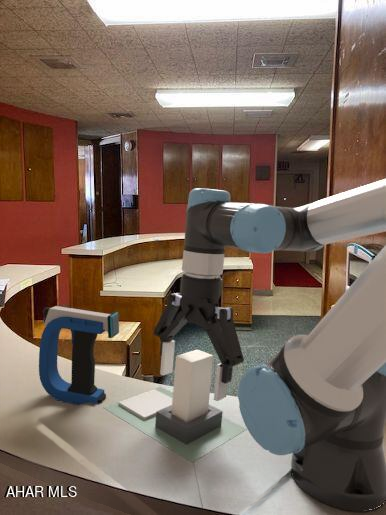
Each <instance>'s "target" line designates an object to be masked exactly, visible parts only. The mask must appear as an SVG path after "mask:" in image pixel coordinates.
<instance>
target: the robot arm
mask: <svg viewBox="0 0 386 515" xmlns="http://www.w3.org/2000/svg"><path fill="white" fill-rule="evenodd" d="M185 213H186V215H185V228H184V229H185V230H184V239H183V240H184V243H183V253H182V263H181V264H182V266H181V271H182V272H183V274H181V275H180V276H181V277H180V286H179V292H176V293H175V292H173V293H169V294H168V298H167V303H166V306H165V308H164V310H163V312H162V313H161V315H160V318H159V320H158V321H157V324H156V326H155V328H154V330H153V335H154V336H156V337H158V338H159V341H160V349H159V350H160V351H159V355H160V357H161V358H160V360H161V362H160V371H159V374H160V375H161V376H166V375H168V374H171V373H173V369H174V356H175V345H176V340H174V338H175V336H176V335H177V334H178V333H179V331H181V329H183V327H184V326H186V324H187V323H188V324H191V325H192V324H194V325H196V326H197V327H199V328H200V327H202V329H203V331H204V332H206V334H207V336H208V338H209V340H210V342H211V344H212V346H213V348H214V350H215V353H216V355H217V357H218V359H219V362H220V363H218V364H216V374H215V383H214V392H213V393H214V394H213V401H215V402H218V401H221V400H223V399H225V398H227V394H228V384H229V383H231V381H232V379H233V369H234V366H237V365H240V364H243V363H244V362H245V361H244V360H245V358H244V355H243V354H244V353H243V351H242V348H241V344H240V341H239V338H238V337H239V336H238V333H237V330H236V326H235V325H236V324H235V323H234V309H233V307H232V306H228V307H220V306H219V300H220V297H221V296H222V295H221V294H222V286H223V278H222V277H221V276H222V275H223V271H224V265H225V264H224V263H225V254H226V247H228V248H233V249H236V250H240V251H241V250H242V251H245V252H247V253H252V254H253V253H256V254H257V253H258V254H270V253H272V252H273V251H293V252H295V251H297V252H300V253H301V252H302V253H304V252H311V251H319V250H320V249H323V247H325V245H329V244H333V243H334V244H335V243H338V242H342V241H343V242H344V241H348V240H353V239H357V238H362V237H367V236H371V235H376V234H380V233H385V232H386V178H384V179H380V180H378V181H375V182H372V183H368V184H365V185H362V186H359V187H356V188H353V189H350V190H347V191H344V192H341V193H337V194H335V195H331V196H328V197H325V198H322V199H320V200H317V201H314V202H310V203H308V204H305V205H301V206H298V207H289V206H288V207H286V206H276V205H270V204H266V203H258V202H251V203H248V202H231V194H230V192H229V191H227V190H222V189H212V188H211V189H210V188H197V187H196V188H193V189H192V190H190V192H189V194H188V200H187V208H186V210H185ZM180 307H181V308H180ZM179 308H180V309H181V310H180V311H179V312H178V310H179ZM177 312H178V313H177ZM174 318H175V319H174ZM237 388H238V389H237V391H238V392H237V398H238V402H239V403H238V404H239V406H238V408H239V411H240V415H241V418H242V420H243V423H244V425H245V428H246V429H247V431H248V433H249V434H250V436H251V437H252V438H253V440H254V441H255V442H256V444H258V445H259V446H260V447H261V449H263V450H264V451H268V452H269V453H270V454H273V455H275V456H285V455H286V456H287V455H289V454H291V455H292V456H291V460H290V461H291V462H290V466H291V468H290V473H291V476H292V478H293V480H294V481H295V482H296V484H297V485H298V486H299V488H301V489H302V490H303V491H304V492H305V493H306V494H308V495H310V496H311V497H312V498H314V499H315V500H317V501H319V502H321V503H323V504H325V505H328V506H331V507H333V508H337V509H341V510H344V511H349V512H350V511H351V512H360V511H361V512H365V511H364V510H369V509H374V508H376V507H378V506H380V505H382V504H383V503H384V502H385V500H386V457H385V453H384V448H383V443H384V435H385V430H386V244H385V245H384V246H383V248H381V250H380V251H379V252H378V253H377V255H376V256H375V257H374V258H373V259H372V260H371V261H370V262H369V263H368V265H367V266H366V267H365V269H364V270H363V271H362V272H361V273H360V274H359V275H358V277H356V279H355V280H354V281H353V282H352V284H351V285H350V286H348V288H347V289H346V290H345V291H344V293H343V294H342V295H341V296H340V297H339V299H338V300H337V301H336V302H335V303H334V304H333V306H332V307H331V308H330V309H329V310H328V311H327V313H325V315H324V316H323V317H322V318H321V320H320V321H319V322H318V323H317V324H316V325H315V326H314V328H313V329H312V330H311V331H310V332H309V333H308V334H297V335H294V336H292V337H291V338H289V339H288V340H287V341H286V342H285V344H284V345H283V346H282V347H281V349H279V351H278V352H277V353H276V355H274V357H273V358H272V359H271V360H270V361H268V362H267V363H264V364H263V363H257V364H254V366H251V367H250V368H248V369H246V371H245V372H243V374H242V376H241V378H240V380H239V383H238V387H237ZM385 503H386V502H385ZM382 506H383V505H382Z"/></svg>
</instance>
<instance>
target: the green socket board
mask: <svg viewBox="0 0 386 515" xmlns="http://www.w3.org/2000/svg"><path fill="white" fill-rule="evenodd" d="M172 400H173V391H170V390H169V389H166V388H164V387H162V386H158V387H156V388H153V389H150V390H148V391H145V392H142V393H139V394H136V395H134V396H131V397H128V398H125V399H123V400H120V401H118V402H117V401H116V402H115V403H112V404H109V405H107V406H104V407H103V409H105V410H106V411H107V412H110V413H111V414H113V415H115V416H116V417H117V418H119V419H121V420H123V421H124V422H126V423H127V424H129V425H131V426H132V427H134V428H136V429H137V430H138V431H140V432H142V433H143V434H145V435H147V436H149V437H150V438H152V439H153V440H155V441H157V442H158V443H160V444H162V445H163V446H165V447H166V448H168V449H170V450H171V451H173V452H174V453H176V454H177V455H179V456H181V457H182V458H184V459H186V460H187V461H189V462H190V463H194V462H196V461H197V460H199V459H201V458H202V457H204V456H205V455H207V454H208V453H210V452H212V451H214V450H215V449H217V448H218V447H220V446H222V445H224V444H225V443H226V442H228V441H230V440H232V439H234V438H235V437H237V436H238V435H240V434H242V433H244V432H245V431H248V429H247V427H244V426H241V425H240V424H238V423H236V422H233V421H232V420H230V419H227V418H226V417H224V416H223V414H224V412H223V410H221V409H220V408H217V407H215V406H213V405H212V404H211V405H210V404H209V406H208V413H206V414H204V415H202V416H200V417H198V418H196V419H194V420H192V421H190V422H188V423H187V422H185V421H183V420H182V419H180V418H178V417H176V416H174V415H172V414H171V412H172Z"/></svg>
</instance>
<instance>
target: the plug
mask: <svg viewBox="0 0 386 515" xmlns="http://www.w3.org/2000/svg"><path fill="white" fill-rule="evenodd" d="M213 360H214V355H213V354H211V353H208V352H205V351H202V350H200V349H194V350H191V351H187V352H184V353H180V354H178V355H177V354H176V356H175V364H174V366H175V367H174V376H173V378H174V379H173V389H172V392H173V400H172V412H171V414H172V415H174V416H176V417H178V418H180V419H182V420H183V421H185V422H187V423H188V422H190V421H192V420H194V419H196V418H198V417H200V416H202V415H204V414H206V413H208V406H209V405H210V403H209V402H210V397H211V396H210V395H211V394H210V393H211V382H212V374H213V372H212V371H213Z"/></svg>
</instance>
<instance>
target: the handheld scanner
mask: <svg viewBox="0 0 386 515" xmlns="http://www.w3.org/2000/svg"><path fill="white" fill-rule="evenodd" d="M43 317H44V318H43V323H44V324H43V326H44V329H43V330H42V334H41V337H40V343H39V352H38V354H39V355H38V375H39V380H40V383H41V385H42V387H43V390H44V391H45V392H46V393H47V394H48V395H49V396H50V397H51V398H52V399H54V400H56V401H58V402H60V401H62V402H61V403H67V404H71V403H72V405H76V404H77V405H76V406H80V405H83V404H86V403H88V404H93V405H96V404H102V403H103V402H104V401H105V400H106V398H107V393H105V389H102V388H98V387H97V386H96V385H95V373H96V361H95V360H96V359H95V358H96V357H95V354H94V352H95V351H94V347H95V342H96V340H97V338H98V335H102V334H103V333H105V332H107V337H108V339H113V338H114V337H116V336H117V335H118V334H119V333H120V323H119V322H120V321H119V320H120V319H119V312H118V311H114V312H112V313H104V312H98V311H91V310H85V309H77V308H74V307H73V308H72V307H66V306H59V305H55V306H53V307H48V306H47V307H44V309H43ZM62 329H64V330H70V332H71V334H70V335H71V344H72V346H71V347H72V348H71V380H70V381H71V383H70V382H67V381H66V380H65V379H63V378H62V376H61V375H60V372H59V370H58V355H59V354H58V351H59V341H60V340H59V339H60V334H61V330H62Z"/></svg>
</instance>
